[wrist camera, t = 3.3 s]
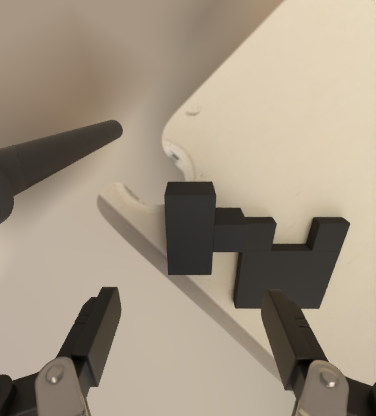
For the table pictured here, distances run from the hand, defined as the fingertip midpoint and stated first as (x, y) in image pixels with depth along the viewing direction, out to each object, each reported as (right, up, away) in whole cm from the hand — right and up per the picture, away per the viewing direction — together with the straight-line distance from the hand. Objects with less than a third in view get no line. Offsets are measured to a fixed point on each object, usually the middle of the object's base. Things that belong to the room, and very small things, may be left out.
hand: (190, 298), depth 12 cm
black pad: (+13, -2, +18) cm, 22 cm away
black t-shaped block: (+2, +3, +15) cm, 16 cm away
